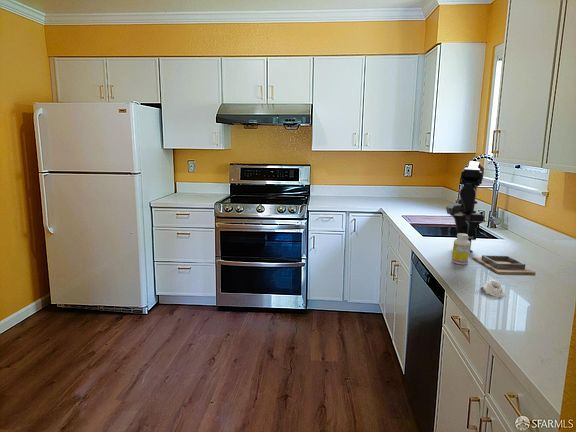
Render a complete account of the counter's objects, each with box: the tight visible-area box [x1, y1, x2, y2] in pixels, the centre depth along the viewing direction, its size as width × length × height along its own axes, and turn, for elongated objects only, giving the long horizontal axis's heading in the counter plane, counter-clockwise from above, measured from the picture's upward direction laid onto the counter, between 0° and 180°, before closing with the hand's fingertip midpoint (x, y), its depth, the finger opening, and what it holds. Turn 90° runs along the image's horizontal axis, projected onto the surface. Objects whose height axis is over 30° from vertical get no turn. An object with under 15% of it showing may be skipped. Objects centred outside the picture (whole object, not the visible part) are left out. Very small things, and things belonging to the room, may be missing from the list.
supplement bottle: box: [451, 233, 471, 266], centre depth 173 cm, size 7×7×13 cm
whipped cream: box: [480, 279, 505, 298], centre depth 140 cm, size 8×7×5 cm
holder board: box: [472, 254, 537, 276], centre depth 171 cm, size 20×16×3 cm
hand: (463, 233), depth 172 cm, fingers open, 9 cm apart
